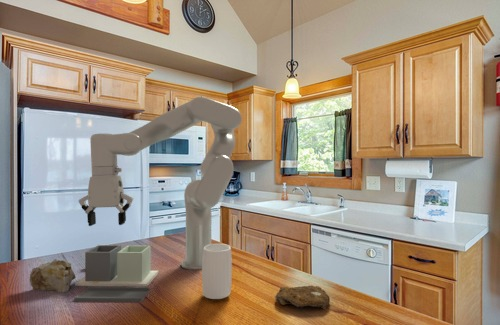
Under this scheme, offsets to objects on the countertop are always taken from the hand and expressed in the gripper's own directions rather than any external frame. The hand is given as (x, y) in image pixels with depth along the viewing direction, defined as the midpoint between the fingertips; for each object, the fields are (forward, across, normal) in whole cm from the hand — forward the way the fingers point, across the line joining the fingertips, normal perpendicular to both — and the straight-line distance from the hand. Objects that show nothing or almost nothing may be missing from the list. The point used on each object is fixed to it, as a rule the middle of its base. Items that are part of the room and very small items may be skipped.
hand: (107, 224), depth 96 cm
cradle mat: (+18, -7, +12) cm, 23 cm away
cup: (+19, -36, +12) cm, 43 cm away
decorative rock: (+20, -60, +15) cm, 65 cm away
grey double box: (+18, -4, +1) cm, 18 cm away
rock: (+18, +13, +7) cm, 23 cm away
